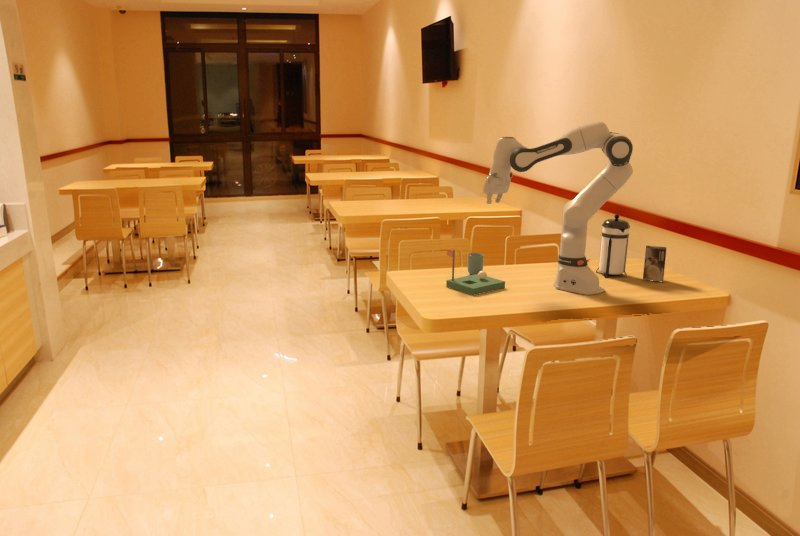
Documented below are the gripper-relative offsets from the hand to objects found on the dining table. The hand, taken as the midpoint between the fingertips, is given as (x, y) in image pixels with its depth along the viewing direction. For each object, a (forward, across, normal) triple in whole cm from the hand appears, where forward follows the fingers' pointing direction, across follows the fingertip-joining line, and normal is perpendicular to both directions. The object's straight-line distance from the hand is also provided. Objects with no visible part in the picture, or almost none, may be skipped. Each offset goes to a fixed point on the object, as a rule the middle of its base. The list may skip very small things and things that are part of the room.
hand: (493, 203), depth 279 cm
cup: (+38, +10, +6) cm, 39 cm away
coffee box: (+24, +49, -68) cm, 87 cm away
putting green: (+37, -10, -3) cm, 39 cm away
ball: (+32, -7, -5) cm, 33 cm away
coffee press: (+28, +49, -48) cm, 74 cm away
